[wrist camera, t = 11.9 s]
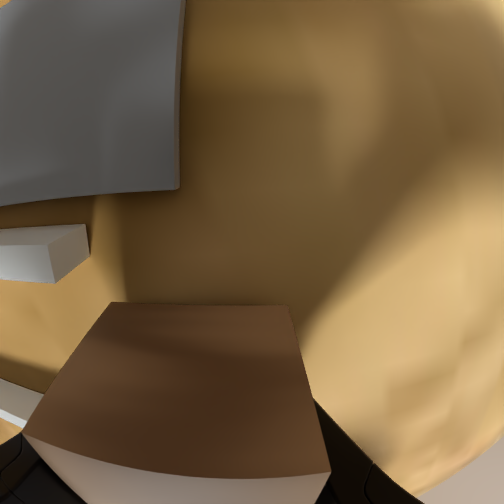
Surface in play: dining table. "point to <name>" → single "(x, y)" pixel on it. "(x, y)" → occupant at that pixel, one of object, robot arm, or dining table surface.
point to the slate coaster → (89, 97)
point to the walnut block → (184, 409)
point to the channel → (43, 271)
